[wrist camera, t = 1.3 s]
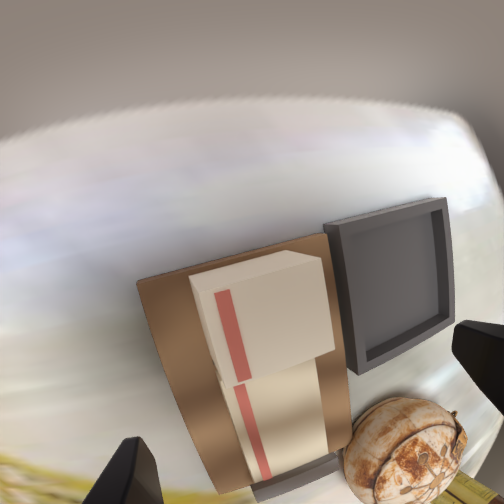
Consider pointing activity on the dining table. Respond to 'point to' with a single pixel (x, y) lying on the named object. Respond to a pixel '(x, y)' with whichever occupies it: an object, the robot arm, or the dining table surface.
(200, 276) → the stub
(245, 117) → the dining table surface
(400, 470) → the trinket box
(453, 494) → the sauce bottle
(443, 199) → the tray
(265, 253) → the board
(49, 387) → the dining table surface
